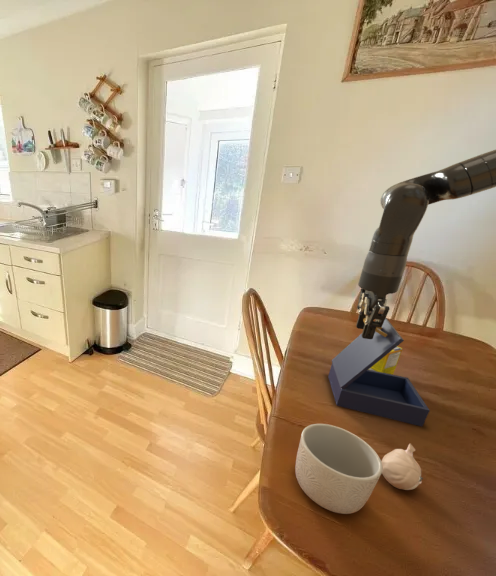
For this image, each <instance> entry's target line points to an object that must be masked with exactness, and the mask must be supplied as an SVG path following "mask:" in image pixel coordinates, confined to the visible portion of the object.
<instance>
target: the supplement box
mask: <svg viewBox="0 0 496 576" xmlns="http://www.w3.org/2000/svg"><path fill="white" fill-rule="evenodd" d="M402 353H403V347H400V346H399V345H398V346H397V347H395V348H394V349H393V350H392V351H391V352H389V353H388V354H387V355H386V356H384V357H383V358H382V359H381V360H379V361H378V362H377V363H376V364H374V365H373V366H372V367H371V368H369V369H368V370H372V371H377V372H382V373H387V374H392V375H395V371H396V368H397V366H398V362H399V361H400V357H401V355H402Z"/></svg>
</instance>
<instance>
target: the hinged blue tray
mask: <svg viewBox="0 0 496 576" xmlns="http://www.w3.org/2000/svg"><path fill="white" fill-rule="evenodd" d="M330 365H331V366H330V368H329V372H328V375H327V378H328V381H329V384H330V388H331V391H332V395H333V398H334V402H335V406H337V407H341V408H345V409H350V410H353V411H357V412H362V413H366V414H369V415H374V416H378V417H381V418H385V419H389V420H394V421H397V422H402V423H406V424H410V425H415V426H418V427H423V426H424V424H425V423H426V420H427V418H428V415H429V413H430V411H431V410H430V409H429V407H428V405H427V404H426V403H425V401H424V400H423V398H422V396H421V395H420V394H419V392H418V391H417V389H416V388H415V386H414V384H413V383H412V381H411V380H410V379H409V377H407V376H401V375H395V374H393V375H392V374H387V373H382V372H377V371H372V370H367V371H366V372H365V373H363V374H362V375H361V376H360V377H358V378H357V379H356V380H355V381H353V382H352V383H351V384H350V385H348V386H347V387H346V388H345V389H342V388H340V385H339V382H338V379H337V376H336V373H335V370H334V367H333V364H332V363H331V364H330Z"/></svg>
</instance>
